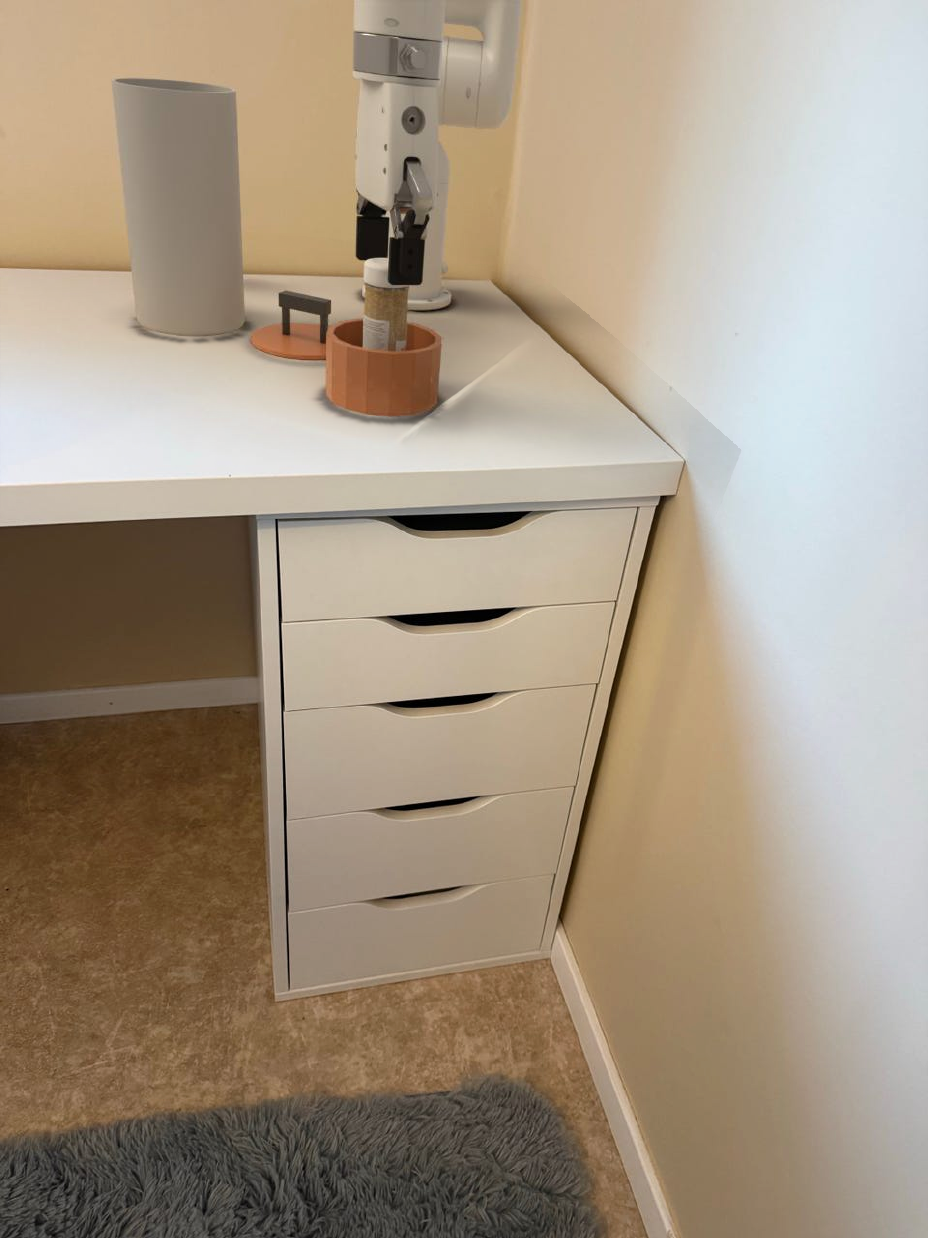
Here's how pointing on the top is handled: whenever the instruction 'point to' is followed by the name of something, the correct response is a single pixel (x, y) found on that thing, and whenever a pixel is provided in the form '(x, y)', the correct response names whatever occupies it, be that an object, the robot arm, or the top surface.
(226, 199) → the cylinder vase
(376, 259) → the sprinkles bottle
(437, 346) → the pot
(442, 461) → the top surface
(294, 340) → the lid
